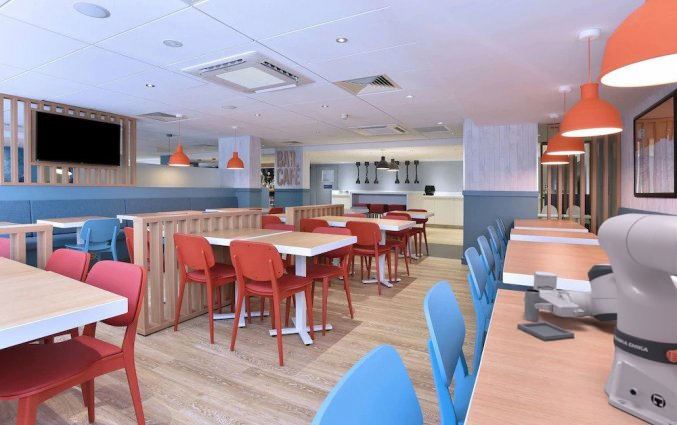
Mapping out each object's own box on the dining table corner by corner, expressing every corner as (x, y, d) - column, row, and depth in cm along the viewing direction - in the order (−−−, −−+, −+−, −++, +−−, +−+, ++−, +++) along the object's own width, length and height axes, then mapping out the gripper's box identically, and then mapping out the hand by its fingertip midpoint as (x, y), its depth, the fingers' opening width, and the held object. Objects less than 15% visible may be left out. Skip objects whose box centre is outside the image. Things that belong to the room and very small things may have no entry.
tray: (574, 338, 112) (574, 333, 112) (544, 341, 109) (544, 336, 109) (545, 325, 122) (545, 321, 122) (517, 328, 120) (517, 323, 120)
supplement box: (534, 305, 147) (535, 273, 146) (532, 300, 153) (534, 270, 153) (556, 307, 144) (557, 275, 143) (553, 302, 150) (554, 272, 150)
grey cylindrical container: (540, 322, 126) (541, 292, 126) (526, 321, 127) (527, 291, 127) (536, 318, 131) (537, 289, 130) (522, 317, 132) (523, 288, 131)
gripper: (588, 322, 118) (544, 321, 118) (554, 304, 138) (516, 303, 139) (589, 303, 117) (544, 301, 118) (555, 287, 138) (517, 286, 139)
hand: (529, 302), depth 129 cm, fingers open, 6 cm apart
